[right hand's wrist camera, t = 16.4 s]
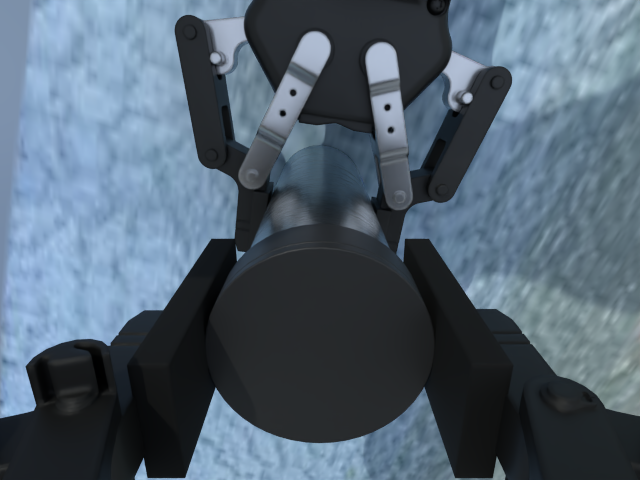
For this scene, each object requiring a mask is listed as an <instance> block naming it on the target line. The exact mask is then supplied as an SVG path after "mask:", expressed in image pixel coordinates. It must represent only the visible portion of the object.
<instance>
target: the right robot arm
mask: <svg viewBox="0 0 640 480" xmlns="http://www.w3.org/2000/svg"><path fill="white" fill-rule="evenodd" d="M236 262H237V258H236V244H235V239H211V240H210V242H209V243H208V245H207V246H206V248H205V249H204V251H203V252H202V254H201V255H200V257H199V258H198V260H197V261H196V263H195V264H194V266H193V267H192V269H191V270H190V272H189V273H188V275H187V276H186V278H185V279H184V281H183V282H182V284H181V285H180V287H179V288H178V290H177V291H176V293H175V294H174V295H173V297H172V298H171V300H170V301H169V303H168V304H167V306H166V307H165V309H164V310H144V311H143V312H141V313H140V314H138V315H137V316H135V317H134V318H132V319H130V320H129V321H128V322H127V323H126V324H125V326H124V327H123V328H122V330H121V331H120V332H119V335H117V336H116V337H115V338H114V340H113V341H112V342H111V346H107V345H106V344H105V343H103V342H102V341H98V340H93V339H81V340H73V341H69V342H65V343H61V344H58V345H56V346H53V347H51V348H48V349H46V350H44V351H43V352H41V353H40V354H38V355H37V356H35V357H34V358H33V359H32V360H31V361H30V362H29V363H28V364H27V365H26V370H27V373H28V377H29V380H30V384H31V388H32V391H33V395H34V398H35V402H36V407H35V410H34V411H31V412H28V413H24V414H19V415H14V416H10V417H5V418H0V480H135V475H136V473H137V471H138V469H139V466H140V464H141V462H142V460H143V458H144V461H145V467H146V472H147V477H148V478H185V477H186V474H187V471H188V468H189V465H190V462H191V459H192V456H193V453H194V450H195V447H196V444H197V441H198V438H199V435H200V432H201V429H202V426H203V423H204V420H205V417H206V414H207V411H208V408H209V405H210V402H211V399H212V397H213V394H214V391H215V388H216V386H215V384H214V382H213V380H212V378H211V376H210V373H209V370H208V365H207V356H206V346H205V333H206V326H207V323H208V319H209V316H210V313H211V311H212V309H213V307H214V305H215V302H216V300H217V298H218V296H219V294H220V292H221V290H222V287H223V285H224V283H225V281H226V279H227V277H228V275H229V273H230V271H231V270H232V268H233V267H234V265H235V264H236ZM403 263H404V264H405V266H406V267H407V269H408V270H409V272H410V273H411V275H412V277H413V279H414V281H415V284H416V286H417V288H418V290H419V292H420V294H421V297H422V299H423V301H424V303H425V305H426V308H427V310H428V312H429V314H430V317H431V321H432V324H433V328H434V335H435V349H434V358H433V365H432V369H431V372H430V375H429V377H428V380H427V382H426V384H425V386H424V387H425V390H426V393H427V396H428V399H429V402H430V405H431V408H432V411H433V414H434V416H435V419H436V422H437V425H438V428H439V431H440V434H441V437H442V440H443V443H444V446H445V449H446V452H447V455H448V458H449V461H450V464H451V467H452V470H453V473H454V476H455V478H493V474H494V468H495V463H496V457H498V459H499V461H500V464H501V466H502V468H503V470H504V472H505V474H506V477H505V480H640V416H635V415H630V414H626V413H621V412H616V411H612V410H609V409H605V407H604V405H603V403H602V402H601V401H600V399H599V398H598V397H597V395H596V394H594V393H593V392H592V391H590V390H589V389H588V388H586V387H585V386H583V385H581V384H579V383H577V382H575V381H573V380H570V379H567V378H563V377H559V376H557V375H556V374H555V373H554V371H553V370H552V369H551V368H550V366H549V365H548V364H547V363H546V361H545V360H544V359H543V358H542V356H541V355H540V354H539V353H538V351H537V350H536V349H535V347H534V346H533V345H532V344H530V341H529V340H528V339H527V337H526V336H525V335H524V334H522V331H521V330H520V329H519V327H518V326H517V325H516V324H515V322H514V321H513V320H512V319H511V318H509V317H508V316H506V315H505V314H503V313H501V312H500V311H498V310H497V309H476V308H475V307H474V305H473V304H472V302H471V301H470V300H469V298H468V297H467V295H466V294H465V292H464V291H463V289H462V288H461V286H460V285H459V283H458V282H457V280H456V279H455V277H454V276H453V274H452V273H451V271H450V270H449V268H448V267H447V265H446V264H445V262H444V261H443V259H442V258H441V256H440V255H439V253H438V252H437V250H436V249H435V247H434V246H433V244H432V243H431V241H430V240H429V239H405V248H404V262H403Z"/></svg>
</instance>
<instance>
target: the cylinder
mask: <svg viewBox="0 0 640 480" xmlns="http://www.w3.org/2000/svg"><path fill="white" fill-rule="evenodd" d="M310 224H329V225H338V226H343V227H348V228H351V229H354V230H357V231H360V232H363V233H365V234H367V235H369V236H371V237H373V238H375V239H377V240H378V241H380V242H381V243H383V244H384V245H386V246H387V247H388V248H389V246H388V243H387V241H386V238H385V236H384V233H383V231H382V228H381V226H380V224H379V221H378V219H377V216H376V214H375V211H374V209H373V206H372V204H371V201H370V199H369V196H368V194H367V192H366V189H365V187H364V184H363V182H362V179H361V177H360V174H359V172H358V170H357V167H356V166H355V164H354V162H353V161H352V160H351V159H350V158H349V157H348V156H347V155H346V154H345V153H343V152H342V151H340V150H338V149H336V148H333V147H330V146H323V145H317V146H310V147H307V148H304V149H302V150H300V151H298V152H297V153H295V154H294V155H293V156H292V157H291V158H290V159H289V160H288V161H287V163H286V164H285V166H284V168H283V170H282V172H281V175H280V177H279V180H278V182H277V184H276V187H275V189H274V192H273V194H272V197H271V199H270V202H269V204H268V206H267V209H266V211H265V214H264V216H263V219H262V221H261V224H260V226H259V228H258V231H257V233H256V236H255V238H254V241H253V243H252V246H251V247H253V246H254V245H255V244H257V243H258V242H260V241H261V240H263V239H265V238H266V237H268V236H270V235H272V234H275V233H277V232H279V231H282V230H285V229H289V228H292V227H297V226H302V225H310ZM389 249H390V248H389Z"/></svg>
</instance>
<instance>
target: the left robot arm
mask: <svg viewBox="0 0 640 480" xmlns="http://www.w3.org/2000/svg"><path fill="white" fill-rule="evenodd" d="M450 1H451V0H253V1H252V2H251V4H250V5H249V7H248V9H247V11H246V13H245V17H235V18H225V19H216V20H201V19H199V18H197V17H195V16H192V15H185V16H183V17H181V18H180V19H179V20H178V21H177V23H176V25H175V36H176V41H177V47H178V52H179V57H180V63H181V68H182V73H183V79H184V84H185V90H186V95H187V100H188V106H189V111H190V116H191V122H192V127H193V132H194V138H195V143H196V148H197V154H198V158H199V161H200V162H201V163H202V165H204V166H205V167H207V168H210V169H218V170H220V171H222V172H224V173H225V174H227V175H229V176H231V177H232V178H233V179H234V180H235V181H236V183H237V185H238V190H239V194H238V206H237V217H236V230H235V244H236V247H237V250H238V251H242V252H247V251H248V250H249V249H250V248H251V246H252V243H253V241H254V238H255V236H256V233H257V231H258V228H259V226H260V224H261V221H262V219H263V216H264V214H265V211H266V209H267V206H268V204H269V202H270V199H271V197H272V193H273V184H274V182H269V180H270V172H271V170H272V168H273V166H274V164H275V162H276V160H277V158H278V156H279V154H280V152H281V150H282V148H283V146H284V144H285V142H286V140H287V138H288V136H289V134H290V133H291V131H292V129H293V127H294V125H295V123H296V121H297V120H299V123H306V124H313V125H322V124H331V123H337V124H340V125H342V126H344V127H346V128H349V129H351V130H353V131H359V132H365V133H369V136H370V142H371V147H372V151H373V155H374V160H375V166H376V172H377V178H378V184H379V189H378V194H377V198H376V197H372V198H371V204H372V206H373V209H374V211H375V214H376V216H377V219H378V221H379V224H380V226H381V228H382V231H383V233H384V236H385V238H386V241H387V243H388V246H389V248H390V249H391V250H392V251H393V252H394V253H395V254H396V251H397V248H398V243H399V239H400V235H401V230H402V226H403V221H404V217H405V214H406V212H407V211H408V209H409V208H410V207H412V206H413V205H415V204H418V203H422V202H427V201H432V200H433V201H435V202H438V203H443V202H447V201H448V200H450V199H451V198H452V197H453V196H454V194H455V192H456V190H457V188H458V186H459V184H460V182H461V181H462V179H463V177H464V175H465V173H466V171H467V169H468V167H469V165H470V163H471V162H472V160H473V158H474V156H475V154H476V152H477V150H478V148H479V146H480V144H481V142H482V141H483V139H484V137H485V135H486V133H487V131H488V129H489V127H490V125H491V123H492V122H493V120H494V118H495V116H496V114H497V112H498V110H499V108H500V106H501V104H502V102H503V101H504V99H505V97H506V95H507V93H508V91H509V89H510V87H511V84H512V76H511V73H510V72H509V71H508V69H506V68H504V67H500V66H497V67H496V66H484V65H482V64H480V63H478V62H476V61H474V60H471V59H469V58H467V57H465V56H463V55H460V54H458V53H456V52H454V51H452V41H451V37H450V34H449V29H448V10H449V5H450ZM248 43H249V45H250V47H251V49H252V50H253V52H254V54H255V56H256V58H257V60H258V62H259V64H260V66H261V67H262V69H263V71H264V73H265V75H266V77H267V79H268V81H269V83H270V84H271V86H272V88H273V90H274V92H275V96H274V98H273V100H272V102H271V104H270V106H269V108H268V110H267V112H266V114H265V116H264V118H263V120H262V122H261V124H260V127H259V129H258V131H257V134H256V137H255V139H254V141H253V143H252V145H251V147H250V149H249V148H247V147H245V146H243V145H242V144H240V143H238V142H236V141H235V136H234V129H233V123H232V116H231V110H230V103H229V97H228V90H227V84H226V78H225V75H226V74H230V73H232V72H233V71H234V70H235V69H236V67H237V63H238V53H239V51H240V49H241V48H242V47H243V46H244V45H245V44H248ZM439 75H441V77H442V78H443V80H444V84H445V88H444V92H443V96H442V100H443V103H444V105H445V106H446V107H447V108H448V109H449V111H448V113H447V115H446V117H445V119H444V121H443V123H442V125H441V127H440V129H439V131H438V133H437V135H436V138H435V140H434V142H433V144H432V146H431V148H430V150H429V152H428V154H427V156H426V158H425V160H424V162H423V164H422V166H421V168H420V169H418V170H413V171H409V163H408V154H409V150H408V142H407V134H406V127H405V120H404V113H403V111H404V110H405V109H406V108H407V107H408V106H409V105H410V104H411V103H412V102H413V101H414V100H415V99H416V98H417V97H418V96H419V95H420V94H421V93H422V92H423V91H424V90H425V89H426V88H427V87H428V86H429V85H430V84H431V83H432V82H433V81H434V80H435V79H436V78H437V77H438V76H439Z"/></svg>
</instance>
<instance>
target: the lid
mask: <svg viewBox="0 0 640 480" xmlns="http://www.w3.org/2000/svg"><path fill="white" fill-rule="evenodd" d="M205 346H206V356H207V365H208V370H209V373H210V376H211V378H212V380H213V382H214V384H215V386H216V388H217V390H218V391H219V393H220V394H221V396H222V397H223V399H224V400H225V401H226V402H227V403H228V404H229V406H230V407H231V408H232V409H233V410H234V411H235V412H237V413H238V414H239V415H240V416H241V417H242V418H244V419H245V420H247V421H248V422H250V423H251V424H253V425H254V426H256V427H258V428H260V429H262V430H264V431H266V432H268V433H271V434H273V435H276V436H279V437H282V438H286V439H290V440H295V441H301V442H310V443H331V442H339V441H346V440H350V439H354V438H358V437H361V436H364V435H366V434H369V433H372V432H374V431H376V430H378V429H380V428H382V427H384V426H386V425H387V424H389V423H390V422H392V421H393V420H395V419H396V418H397V417H398V416H400V415H401V414H402V413H403V412H405V411H406V410H407V409H408V407H409V406H410V405H411V404H412V403H413V402H414V401H415V400H416V398H417V397H418V395H419V394H420V393H421V391H422V389H423V388H424V386H425V384H426V382H427V380H428V377H429V375H430V372H431V369H432V365H433V358H434V349H435V335H434V328H433V324H432V321H431V317H430V314H429V312H428V310H427V308H426V305H425V303H424V301H423V299H422V297H421V294H420V292H419V290H418V288H417V286H416V284H415V281H414V279H413V277H412V275H411V273H410V272H409V270H408V269H407V267H406V266H405V264H404V263H403V262H402V261H401V259H400V258H399V257H398V256H397V255H396V254H395V253H394V252H393V251H392V250H391V249H389V248H388V247H387V246H386V245H384V244H383V243H381V242H380V241H378V240H377V239H375V238H373V237H371V236H369V235H367V234H365V233H363V232H360V231H357V230H354V229H351V228H348V227H343V226H338V225H329V224H310V225H302V226H297V227H292V228H289V229H285V230H282V231H279V232H277V233H275V234H272V235H270V236H268V237H266V238H265V239H263V240H261V241H260V242H258V243H257V244H255V245H254V246H253V247H251V248H250V249H249V250H248V251H247V252H246V253H244V255H243V256H242V257H241V258H240V259H239V260H238V261H237V262H236V264H235V265H234V267H233V268H232V270H231V271H230V273H229V275H228V277H227V279H226V281H225V283H224V285H223V287H222V290H221V292H220V294H219V296H218V298H217V300H216V302H215V305H214V307H213V309H212V311H211V313H210V316H209V319H208V323H207V326H206V333H205Z"/></svg>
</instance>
